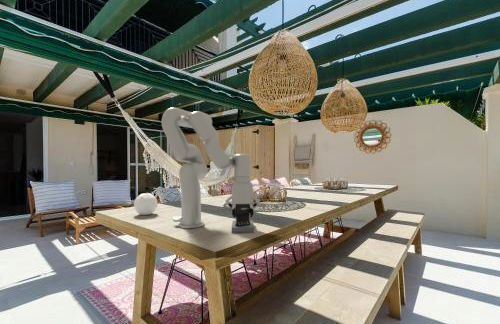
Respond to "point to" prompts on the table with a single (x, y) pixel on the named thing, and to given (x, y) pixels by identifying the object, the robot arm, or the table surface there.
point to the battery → (242, 214)
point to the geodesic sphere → (145, 204)
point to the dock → (243, 228)
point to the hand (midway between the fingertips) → (242, 216)
